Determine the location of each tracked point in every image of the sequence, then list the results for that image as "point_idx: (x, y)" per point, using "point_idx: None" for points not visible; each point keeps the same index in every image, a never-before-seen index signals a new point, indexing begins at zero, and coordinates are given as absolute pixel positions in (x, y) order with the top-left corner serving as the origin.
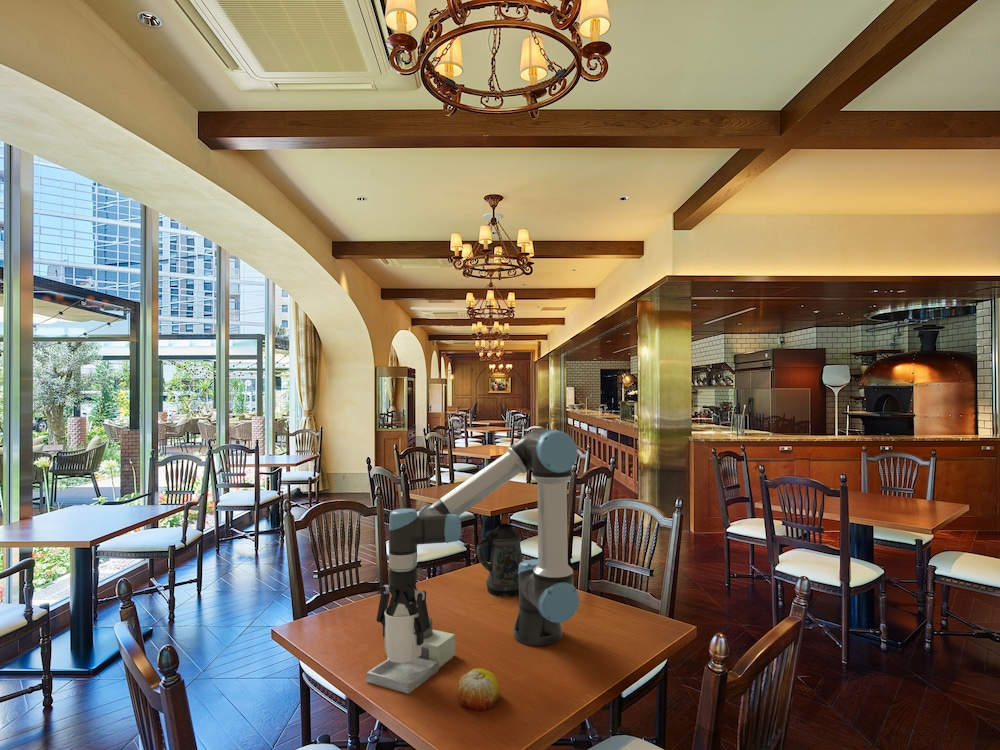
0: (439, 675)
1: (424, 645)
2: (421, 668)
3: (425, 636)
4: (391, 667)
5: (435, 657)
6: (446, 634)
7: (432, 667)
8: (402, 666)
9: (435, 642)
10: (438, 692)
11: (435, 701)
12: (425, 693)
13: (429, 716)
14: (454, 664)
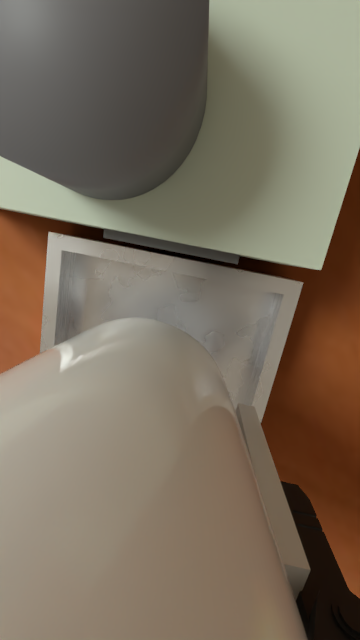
0: (306, 317)
1: (208, 248)
2: (213, 300)
3: (181, 159)
4: (83, 325)
5: (280, 263)
6: (330, 12)
7: (285, 334)
8: (123, 305)
9: (283, 208)
10: (342, 436)
11: (348, 487)
12: (295, 450)
13: (353, 558)
14: (349, 196)
